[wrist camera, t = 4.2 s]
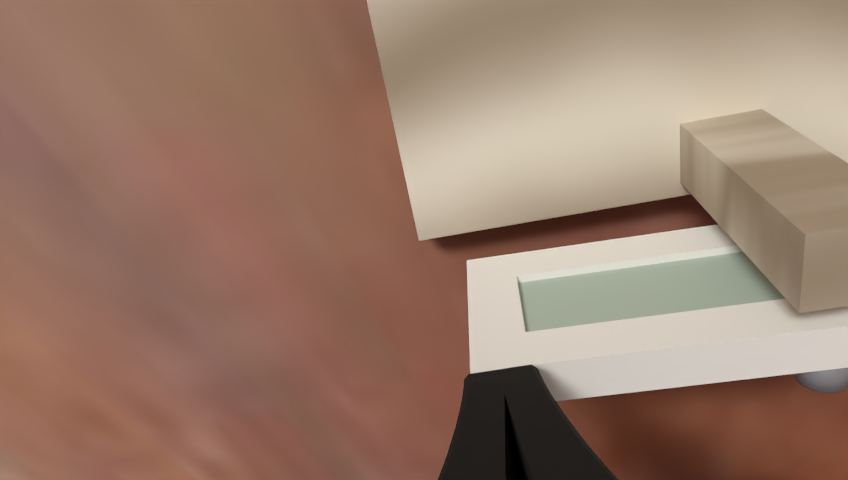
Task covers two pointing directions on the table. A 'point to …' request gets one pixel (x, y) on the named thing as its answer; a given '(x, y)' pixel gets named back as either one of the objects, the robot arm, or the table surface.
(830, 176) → the easel stand
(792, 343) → the frame
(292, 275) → the table surface
